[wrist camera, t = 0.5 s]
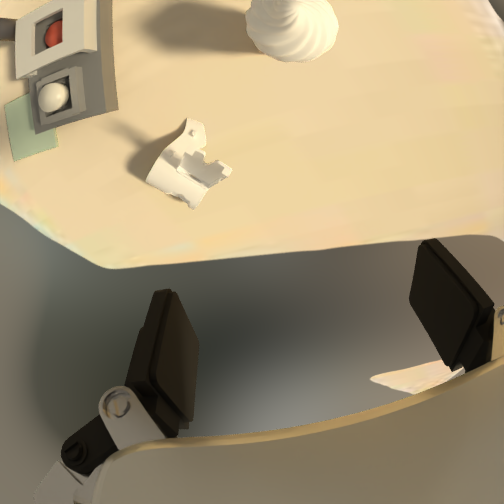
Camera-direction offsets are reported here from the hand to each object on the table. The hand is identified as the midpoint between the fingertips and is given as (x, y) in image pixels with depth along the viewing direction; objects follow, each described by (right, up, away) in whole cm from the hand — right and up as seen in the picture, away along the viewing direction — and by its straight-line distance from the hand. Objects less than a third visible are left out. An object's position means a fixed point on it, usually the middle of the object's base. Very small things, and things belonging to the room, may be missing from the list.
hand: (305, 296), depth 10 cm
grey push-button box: (-26, +28, +17) cm, 41 cm away
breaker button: (-26, +30, +13) cm, 42 cm away
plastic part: (-10, +14, +27) cm, 32 cm away
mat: (-36, +21, +20) cm, 46 cm away
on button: (-26, +20, +15) cm, 36 cm away
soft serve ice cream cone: (+1, +28, +18) cm, 33 cm away
